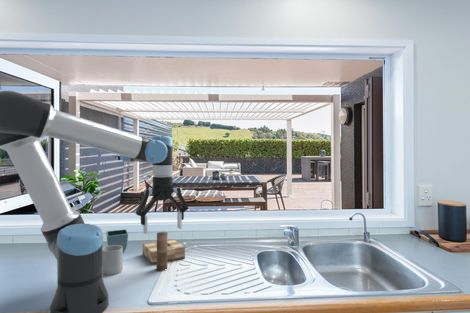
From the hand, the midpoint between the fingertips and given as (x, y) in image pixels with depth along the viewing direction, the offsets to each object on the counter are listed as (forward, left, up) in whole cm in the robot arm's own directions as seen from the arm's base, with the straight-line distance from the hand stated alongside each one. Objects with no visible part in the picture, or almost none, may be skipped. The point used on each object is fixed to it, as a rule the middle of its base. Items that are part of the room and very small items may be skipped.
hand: (162, 230), depth 120 cm
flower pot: (+29, +11, -15) cm, 35 cm away
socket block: (+13, -5, -15) cm, 20 cm away
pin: (0, 0, -15) cm, 15 cm away
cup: (+8, +16, -15) cm, 24 cm away
